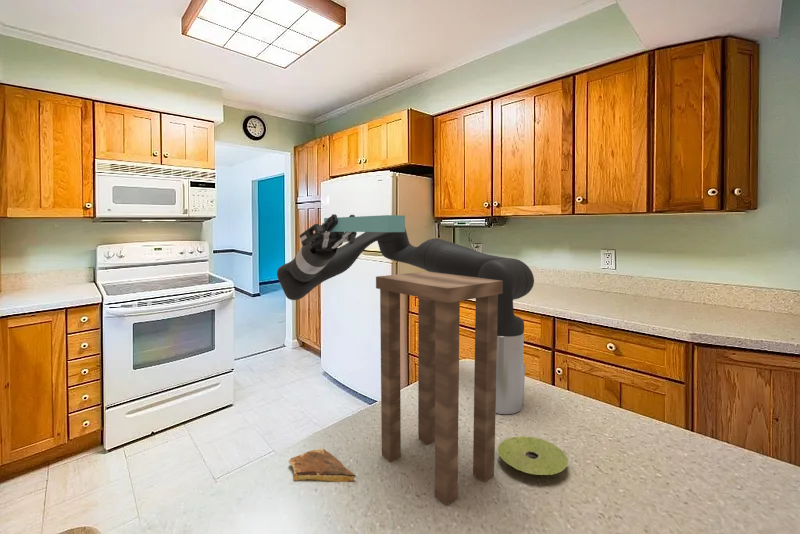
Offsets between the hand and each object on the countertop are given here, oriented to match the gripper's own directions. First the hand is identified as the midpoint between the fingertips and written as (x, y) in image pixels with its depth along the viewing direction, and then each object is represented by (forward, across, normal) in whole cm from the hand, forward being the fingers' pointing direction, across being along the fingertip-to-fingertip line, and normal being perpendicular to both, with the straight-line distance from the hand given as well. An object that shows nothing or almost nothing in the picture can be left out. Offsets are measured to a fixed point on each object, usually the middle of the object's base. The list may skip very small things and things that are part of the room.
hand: (345, 218), depth 84 cm
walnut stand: (+4, 0, +51) cm, 51 cm away
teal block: (+4, 0, +6) cm, 7 cm away
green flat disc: (+12, +13, +56) cm, 59 cm away
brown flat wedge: (-7, -15, +46) cm, 49 cm away
